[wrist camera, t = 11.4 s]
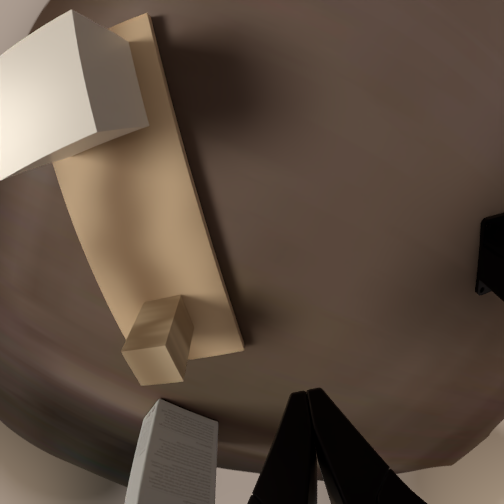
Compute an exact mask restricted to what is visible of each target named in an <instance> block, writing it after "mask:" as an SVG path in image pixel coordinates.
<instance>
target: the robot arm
mask: <svg viewBox="0 0 504 504" xmlns="http://www.w3.org/2000/svg"><path fill="white" fill-rule="evenodd" d="M487 223H488V224H487ZM486 225H487V226H486ZM490 291H493V292H494V293H495V294H496V295H497V296H498V297H499V298H500V299H501V300H503V301H504V213H501V214H498V215H494V216H490V217H487V218H484V219H483V220H482V222H481V229H480V247H479V259H478V270H477V279H476V287H475V292H476V293H477V294H478V295H483V294H486V293H488V292H490ZM306 393H307V394H306ZM315 448H316V449H315ZM316 454H317V457H316ZM317 459H318V463H319V466H320V470H321V473H322V476H323V479H324V482H325V485H326V489H327V492H328V495H329V498H330V501H331V504H427V503H426V502H424V501H423V500H422V499H421V498H420V497H419V496H417V495H416V494H415V493H414V492H413V491H412V490H410V488H409V487H408V486H407V485H406V484H405V483H404V482H403V481H402V480H401V479H400V478H399V477H398V476H397V475H396V474H395V473H394V471H393V470H392V469H389V468H390V467H389V466H388V465H387V464H386V463H385V461H384V460H383V459H382V458H381V457H380V456H379V455H378V453H377V452H376V451H375V450H374V449H373V448H372V447H371V445H370V444H369V443H368V442H367V441H366V440H365V439H364V437H363V436H362V435H361V434H360V433H359V432H358V430H357V429H356V428H355V427H354V426H353V425H352V423H351V422H350V421H349V420H348V419H347V418H346V416H345V415H344V414H343V413H342V412H341V411H340V409H339V408H338V407H337V406H336V405H335V403H334V402H333V401H332V400H331V399H330V398H329V396H328V395H327V394H326V393H325V392H324V390H323V389H322V388H315V389H310V390H307V392H305V391H299V392H294V393H291V395H290V397H289V400H288V403H287V405H286V408H285V411H284V414H283V417H282V419H281V422H280V425H279V427H278V430H277V433H276V435H275V438H274V441H273V443H272V446H271V448H270V451H269V453H268V456H267V458H266V461H265V463H264V466H263V468H262V471H261V473H260V476H259V478H258V481H257V483H256V485H255V488H254V490H253V492H252V493H253V495H251V497H250V499H249V501H248V504H317Z"/></svg>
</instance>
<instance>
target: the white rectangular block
mask: <svg viewBox="0 0 504 504" xmlns="http://www.w3.org/2000/svg"><path fill="white" fill-rule="evenodd" d="M148 126H149V123H148V119H147V115H146V111H145V108H144V104H143V100H142V96H141V92H140V88H139V84H138V80H137V76H136V72H135V67H134V63H133V59H132V55H131V50H130V46H129V42H128V41H127V40H125V39H123V38H122V37H120V36H118V35H117V34H115V33H113V32H112V31H110V30H108V29H106V28H105V27H103V26H101V25H99V24H98V23H96V22H94V21H92V20H90V19H89V18H87V17H85V16H83V15H81V14H79V13H78V12H76V11H74V10H70V11H68V12H66V13H64V14H63V15H61V16H59V17H57V18H56V19H54V20H52V21H51V22H49V23H47V24H46V25H44V26H42V27H41V28H39V29H38V30H36V31H34V32H33V33H31V34H30V35H28V36H27V37H25V38H24V39H22V40H21V41H20V42H18V43H17V44H15V45H14V46H12V47H11V48H10V49H8V50H7V51H6V52H5V53H3V54H2V55H0V180H4V179H6V178H9V177H11V176H14V175H17V174H20V173H22V172H25V171H28V170H31V169H34V168H37V167H40V166H43V165H46V164H49V163H52V162H55V161H59V160H62V159H65V158H69V157H72V156H74V155H76V154H78V153H81V152H83V151H85V150H88V149H90V148H93V147H95V146H97V145H100V144H102V143H105V142H107V141H110V140H112V139H115V138H118V137H120V136H123V135H126V134H128V133H131V132H134V131H136V130H139V129H142V128H145V127H148Z"/></svg>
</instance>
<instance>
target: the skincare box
mask: <svg viewBox="0 0 504 504" xmlns="http://www.w3.org/2000/svg"><path fill="white" fill-rule="evenodd" d="M217 444H218V422H217V421H214V420H211V419H209V418H206V417H203V416H201V415H198V414H195V413H193V412H190V411H188V410H185V409H183V408H180V407H178V406H176V405H173V404H171V403H169V402H166V401H164V400H162V399H158V401H157V402H156V403H155V405H154V406H153V407H152V409H151V410H150V411H149V413H148V414H147V415H146V416H145V418H144V420H143V423H142V427H141V431H140V435H139V439H138V444H137V448H136V452H135V456H134V461H133V465H132V470H131V474H130V479H129V484H128V489H127V493H126V498H125V503H124V504H215V487H216V484H215V483H216V465H217Z"/></svg>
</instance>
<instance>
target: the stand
mask: <svg viewBox="0 0 504 504" xmlns="http://www.w3.org/2000/svg"><path fill="white" fill-rule="evenodd" d="M108 30H110V31H112V32H113V33H115V34H117V35H118V36H120V37H122V38H123V39H125V40H127V41H128V42H129V46H130V50H131V55H132V59H133V63H134V67H135V72H136V76H137V80H138V84H139V88H140V92H141V96H142V100H143V104H144V108H145V111H146V115H147V119H148V123H149V126H148V127H145V128H142V129H139V130H136V131H134V132H131V133H128V134H126V135H123V136H120V137H118V138H115V139H112V140H110V141H107V142H105V143H102V144H100V145H97V146H95V147H93V148H90V149H88V150H85V151H83V152H81V153H78V154H76V155H74V156H72V157H69V158H65V159H62V160H59V161H55V162H53V165H54V169H55V172H56V175H57V178H58V182H59V185H60V188H61V191H62V194H63V197H64V200H65V203H66V205H67V208H68V211H69V214H70V217H71V219H72V222H73V225H74V227H75V230H76V233H77V235H78V238H79V240H80V243H81V245H82V248H83V250H84V253H85V255H86V257H87V260H88V262H89V264H90V267H91V269H92V271H93V273H94V276H95V278H96V280H97V282H98V285H99V287H100V289H101V291H102V293H103V295H104V297H105V299H106V302H107V304H108V306H109V308H110V310H111V312H112V314H113V316H114V318H115V320H116V322H117V324H118V326H119V327H120V329H121V331H122V333H123V335H124V337H125V339H126V342H125V344H124V346H123V348H122V351H121V353H122V354H123V356H124V358H125V359H126V361H127V363H128V365H129V366H130V368H131V370H132V371H133V373H134V374H135V376H136V378H137V379H138V381H139V382H140V384H141V386H144V385H154V384H164V383H173V382H182V381H184V376H185V371H186V366H187V361H188V360H191V359H198V358H204V357H210V356H216V355H222V354H228V353H233V352H239V351H244V341H243V338H242V335H241V332H240V329H239V326H238V323H237V320H236V317H235V314H234V311H233V308H232V305H231V302H230V298H229V295H228V292H227V289H226V286H225V283H224V280H223V276H222V273H221V270H220V267H219V264H218V260H217V257H216V254H215V251H214V248H213V244H212V241H211V238H210V234H209V231H208V228H207V224H206V221H205V218H204V214H203V211H202V208H201V204H200V201H199V197H198V194H197V191H196V187H195V184H194V180H193V177H192V173H191V170H190V166H189V163H188V159H187V156H186V152H185V148H184V145H183V141H182V137H181V134H180V130H179V126H178V123H177V119H176V115H175V112H174V108H173V104H172V100H171V96H170V93H169V89H168V85H167V81H166V77H165V73H164V69H163V65H162V61H161V57H160V53H159V49H158V45H157V41H156V37H155V32H154V28H153V24H152V20H151V16H150V15H149V14H148V13H145V14H142V15H140V16H137V17H135V18H132V19H130V20H127V21H125V22H122V23H120V24H117V25H115V26H113V27H111V28H108Z"/></svg>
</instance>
